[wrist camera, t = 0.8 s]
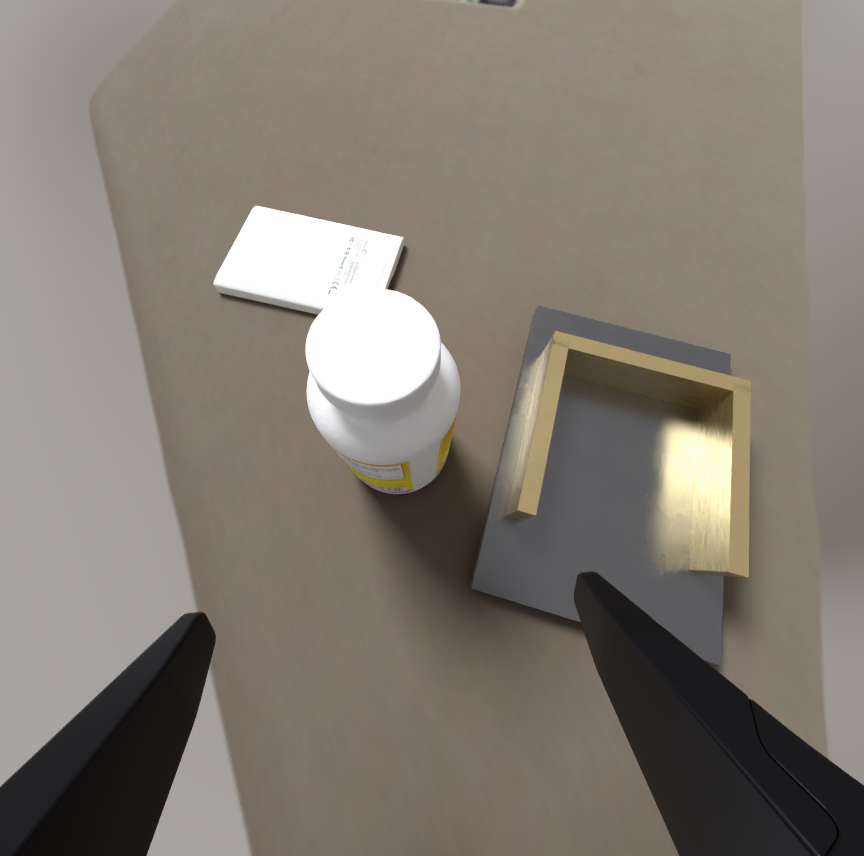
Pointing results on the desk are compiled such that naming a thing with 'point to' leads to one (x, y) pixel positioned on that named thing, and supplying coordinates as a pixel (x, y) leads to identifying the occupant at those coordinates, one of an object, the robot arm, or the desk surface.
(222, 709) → the desk surface
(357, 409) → the supplement bottle
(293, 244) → the external hard drive
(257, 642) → the desk surface
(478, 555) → the wooden walled tray
